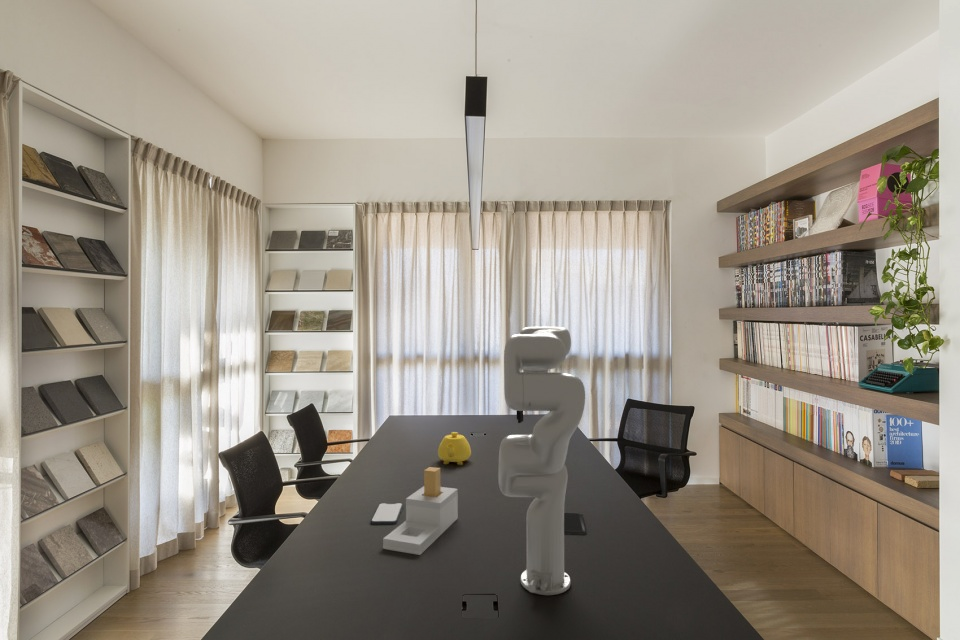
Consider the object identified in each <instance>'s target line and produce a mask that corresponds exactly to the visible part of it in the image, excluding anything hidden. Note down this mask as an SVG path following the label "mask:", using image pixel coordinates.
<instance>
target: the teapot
mask: <svg viewBox="0 0 960 640" xmlns="http://www.w3.org/2000/svg"><path fill="white" fill-rule="evenodd" d="M437 455H438V457H439V458H440V459H441V461H443V465H449V464H450V463H453V462H454V463H456V465H457V466H458V465H459V466H463V465H464V462H465V461H466V460H467V461H468V459H469V458H470V457H471V455H472V449H471V446H470V443H469V441H468V439H467V438H466V437H465V436H464V435H463V434H459V432H457V431H451V432H450V434H447V435H445V436H444V437H443V438H442V440H441V442H440V444H439V446H438V449H437Z"/></svg>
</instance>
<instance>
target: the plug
mask: <svg viewBox="0 0 960 640" xmlns="http://www.w3.org/2000/svg"><path fill="white" fill-rule="evenodd" d="M441 478H442V477H441V467H432V466H429V467H427V468H426V469H424V470H423V482H424V484H423V486H424V496H429V497H438V496H439V495H440V494H441V487H442V485H441Z"/></svg>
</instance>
